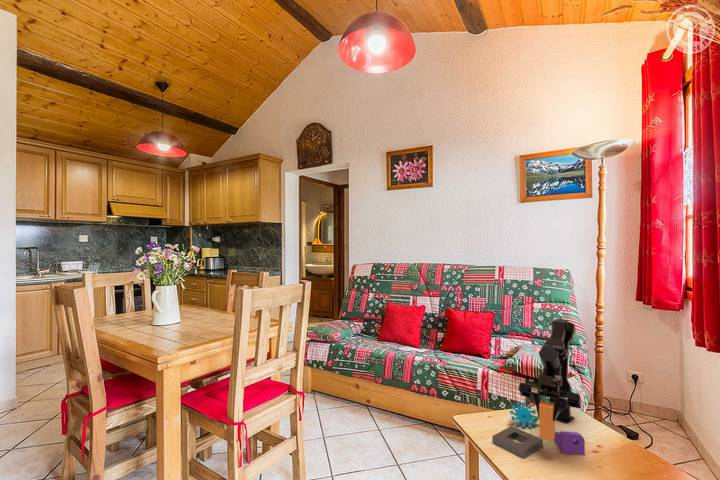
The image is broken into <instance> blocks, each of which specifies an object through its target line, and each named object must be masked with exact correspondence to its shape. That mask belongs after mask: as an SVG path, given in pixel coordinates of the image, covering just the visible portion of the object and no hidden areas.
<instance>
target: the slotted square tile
mask: <svg viewBox="0 0 720 480" xmlns="http://www.w3.org/2000/svg"><path fill="white" fill-rule="evenodd" d="M491 437H492V444H494V445H495V446H498V447H499V448H502V449H504V450H506V451H508V452H510V453H511V454H513V455H516V456H517V457H519V458H521V459H526V458H528V457H529V456H530V455H532V454H534V453H536V451H538V450H539V449H541V448H543V447H544V445H543V444H544V443H543V441H544V439H541V438H540V437H538V436H536V435H534V434H531V433H529V432H527V431H524V430H522V429H521V428H518V427H516V426H513V425H510V426H509V427H507V428H504V429H503V430H500V432H497V433H495V434H494V435H492V436H491ZM515 440H517V441H518V442H517V441H515ZM519 442H520V443H519Z"/></svg>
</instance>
